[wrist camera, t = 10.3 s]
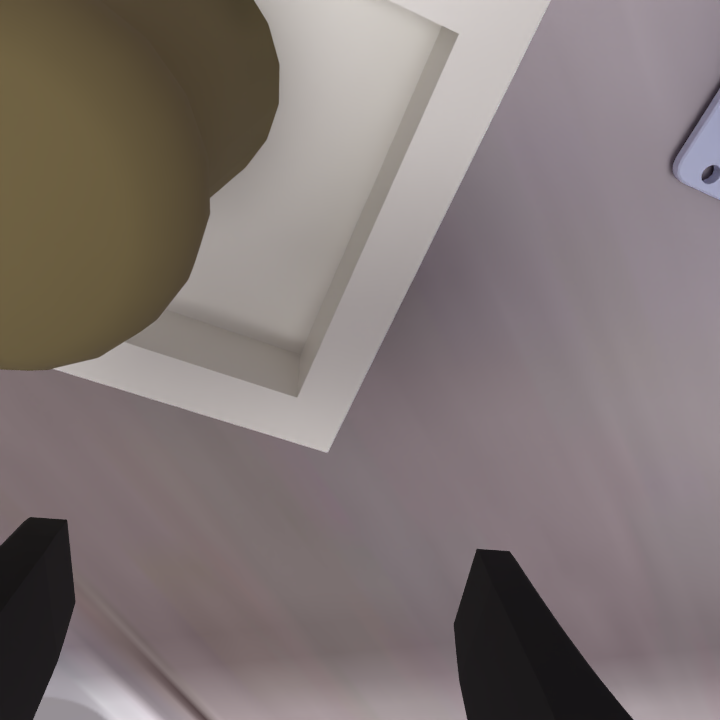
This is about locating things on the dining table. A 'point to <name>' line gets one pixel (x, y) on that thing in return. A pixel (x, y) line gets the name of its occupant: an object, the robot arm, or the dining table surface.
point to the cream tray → (327, 211)
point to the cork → (117, 159)
